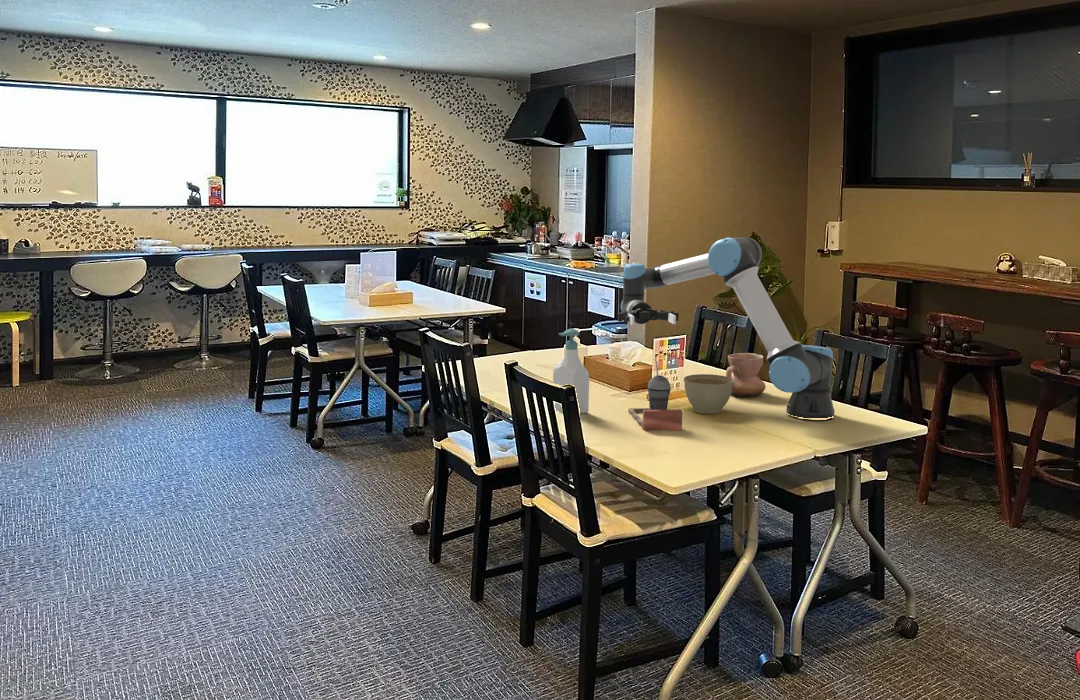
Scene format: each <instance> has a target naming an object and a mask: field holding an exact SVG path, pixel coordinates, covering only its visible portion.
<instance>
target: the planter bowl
mask: <svg viewBox="0 0 1080 700" xmlns="http://www.w3.org/2000/svg"><path fill="white" fill-rule="evenodd" d="M733 381H734V380H733V379H732V378H729V377H726V375H720V374H713V373H712V374H710V373H709V374H708V373H703V374H702V373H701V374H697V373H696V374H690V375H687V376H684V377H683V382H684V384H683V385H684V386H683V387H684V392H685V395H686V397H687V400H688V402H689V404H690V405H691V407H692V410H693V411H694V412H696V413H699V414H707V415H711V414H720V413H721V412H722V411H723V408H724V407H725V406H726V404H727V403H728V401H729V400H730V398H731V395H732V394H731V392H732V385H733Z"/></svg>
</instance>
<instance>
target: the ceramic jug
mask: <svg viewBox="0 0 1080 700" xmlns="http://www.w3.org/2000/svg"><path fill="white" fill-rule="evenodd" d="M727 360H728V361H727V362H728V364H729V366H728V367H727V369H726V370H725V371H726V372H725V376H726V377H729V378H732V379H733V380H734V381H733V385H732V392H731V395H734V396H738V395H739V397H755V395H756V396H759V395H761V394H763V393H764V392H765V390H766V386H767V385H766V383H765V382H764V380H762V379H760V378H759V377H758V374H759V372H760V370H761V368H762V366H763V365H764V356H763V355H761V354H757V353H752V352H751V353H750V352H741V353H740V352H739V353H732V354H729V355H727Z"/></svg>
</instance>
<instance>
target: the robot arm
mask: <svg viewBox="0 0 1080 700" xmlns="http://www.w3.org/2000/svg"><path fill="white" fill-rule="evenodd" d="M762 251H763V250H762V248H761V246H760V244H759V243H758V242H757V241H756V240H755V239H753V238H752V237H748V236H738V237H725V238H722V239H719V240H716V241H715V242H714V243H713V244H712V245H711V247H710V248H709V251H708V252H707V253H704V254H700V255H696V256H693V257H688V258H684V259H680V260H677V261H672V262H669V263H664V264H661V265H656V266H653V267H647V268H646V265H645V264H643V263H626V264H625V265H623V273H622V277H623V279H622V300H621V303H620V310H621V312H619V313H618V314H617V322H619V323H620V322H623V325H627V324H629V325H631V326H633V325H635V323H636V324H638V325H644V324H647V323H648V322H649V321H657V320H660V321H667V322H669V323H670V324H673V325H676V324H677V322H679V315H680V314H679V312H674V311H673V310H671V311H667V310H664V309H659V310H657V309H653V308H652V306H650V305H649V304H648V302H647V303H646V302H645V290H650V289H660V288H663V287H667V286H670V285H673V284H677V283H682V282H683V283H684V282H686V281H690V280H696V279H699V278H703V277H708V276H712V275H717V276H720V277H721V278H722V280H723V282H724V284H725V286H726V287H729V288H730V287H731V288H732V289H733V291H734V292H735V294H736V296H737V298H738V300H739V302H740V303H741V305H742V308H743V309H744V310H745V312H746V314H747V316H748V318H749V320H750V321H751V324H752V325H753V327H754V329H755V331H756V333H757V335H758V336H759V338H760V340H761V342H762V344H763V346H764V348H765V350H766V352H767V357H766V362H767V364H768V365H769V371H768V377H769V381H770V382H771V383H772V385H773V386H774V387H775V388H776V389H778V390H779V391H780V392H784V393H788V394H789V393H791V396H790V398H789V401H788V403H787V405H786V411H785V413H786V412H787V413H788V414H790V415H793V416H797V417H803V418H828V417H832V416H834V417H835V408H834V403H833V400H832V396H831V389H832V387H831V384H832V377H833V362H834V352H833V350H832V348H829V347H825V346H819V345H818V346H817V345H807V344H802V343H801V342H800V341H797V340H794V338H792V335H791V334H790V332H789V331H788V329H787V328H788V327H787V326H786V325H785V323H784V321H783V320H782V318H781V316H780V314H779V312H778V310H777V308H776V307H775V305H774V304H773V301H772V299H771V298H770V296H769V294H768V292H767V290H766V289H765V287H764V285H763V282H761V280H760V278H759V275H758V273H759V269H760V267H759V265H760V263H761V260H762V258H763V257H762V256H763V252H762Z"/></svg>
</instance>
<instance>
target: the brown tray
mask: <svg viewBox="0 0 1080 700" xmlns="http://www.w3.org/2000/svg"><path fill="white" fill-rule="evenodd" d="M627 410H628V413H629V415H630V414H631V415H632V416H631V415H630V416H631V417H632V418H633V420H634V421H635V420H636V421H637V422H636V421H635V422H636V423H637V425H638V426H639V427H640V426H641V427H642V428H641V427H640V428H641V429H642V431H644V430H654V431H682V430H683V414H684V413H683V410H682V409H675V408H674V409H667V410H650V407H647V408H646V407H638V408H637V407H635V408H632V407H631V408H628V409H627ZM641 413H642V418H641V417H640V416H639V414H641Z"/></svg>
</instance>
